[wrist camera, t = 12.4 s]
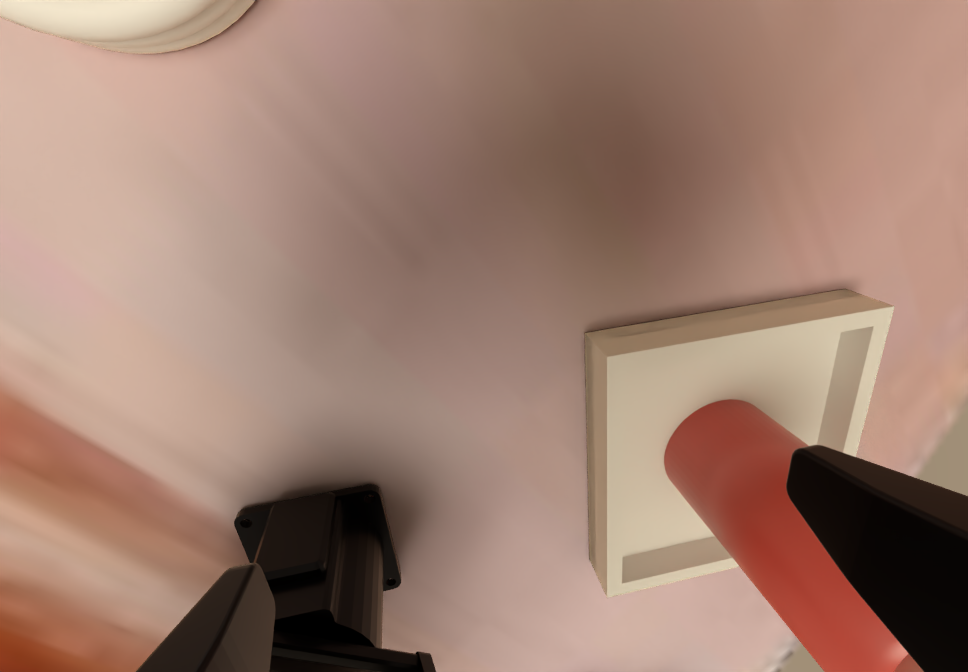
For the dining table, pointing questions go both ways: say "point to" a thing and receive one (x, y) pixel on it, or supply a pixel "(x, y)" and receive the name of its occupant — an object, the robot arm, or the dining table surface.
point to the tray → (696, 383)
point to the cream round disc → (128, 21)
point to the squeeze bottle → (775, 534)
